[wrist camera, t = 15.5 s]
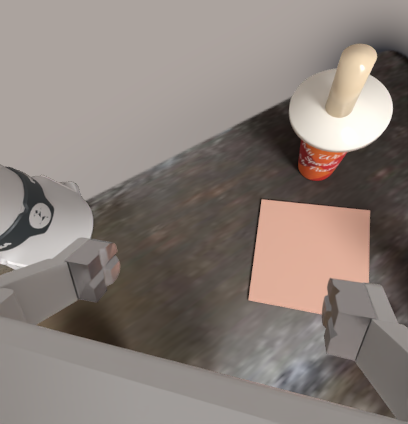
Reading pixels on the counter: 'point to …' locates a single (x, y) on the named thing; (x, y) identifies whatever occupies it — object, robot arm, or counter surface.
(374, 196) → the counter surface
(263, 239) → the mat
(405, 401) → the robot arm
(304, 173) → the paper cup
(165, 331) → the counter surface
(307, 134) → the lid
